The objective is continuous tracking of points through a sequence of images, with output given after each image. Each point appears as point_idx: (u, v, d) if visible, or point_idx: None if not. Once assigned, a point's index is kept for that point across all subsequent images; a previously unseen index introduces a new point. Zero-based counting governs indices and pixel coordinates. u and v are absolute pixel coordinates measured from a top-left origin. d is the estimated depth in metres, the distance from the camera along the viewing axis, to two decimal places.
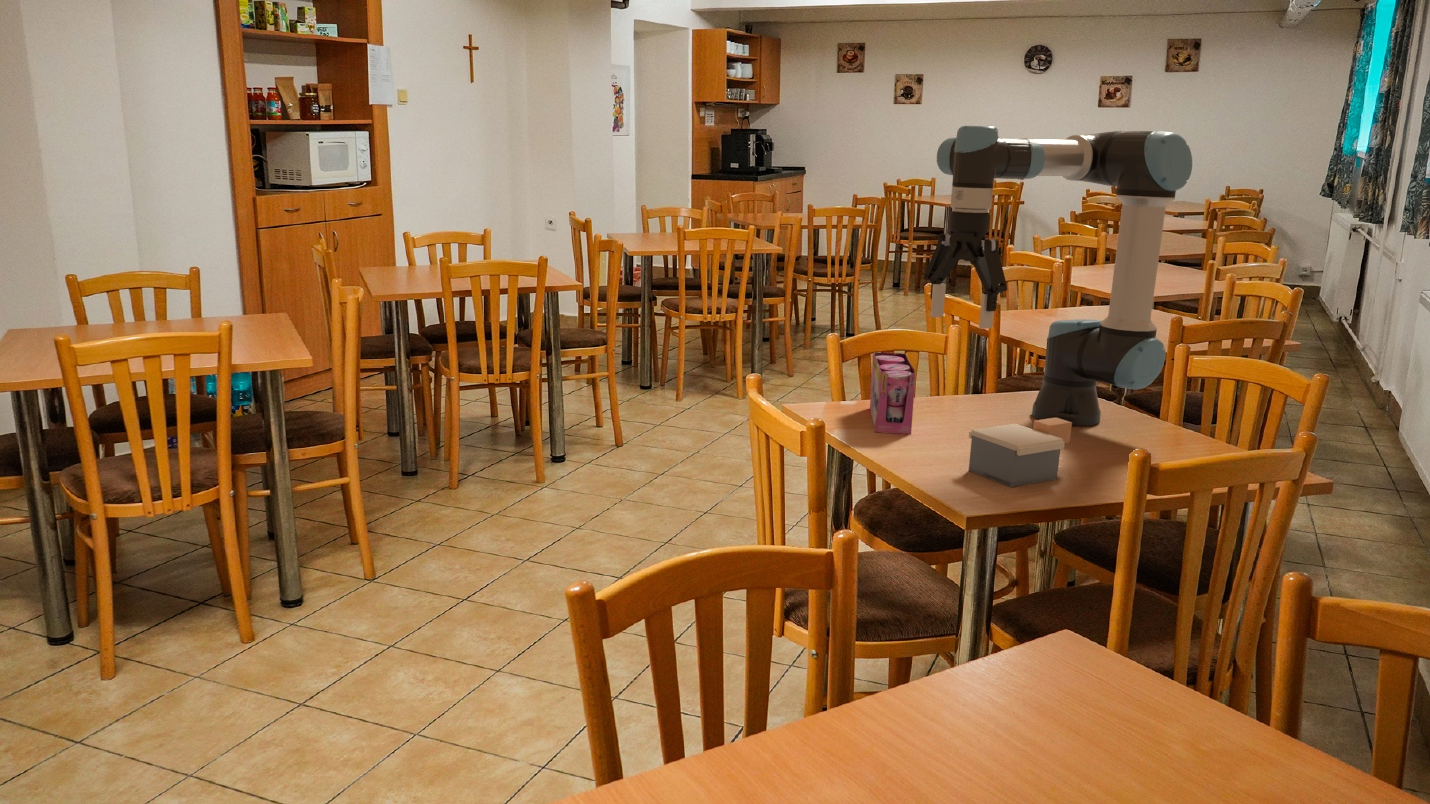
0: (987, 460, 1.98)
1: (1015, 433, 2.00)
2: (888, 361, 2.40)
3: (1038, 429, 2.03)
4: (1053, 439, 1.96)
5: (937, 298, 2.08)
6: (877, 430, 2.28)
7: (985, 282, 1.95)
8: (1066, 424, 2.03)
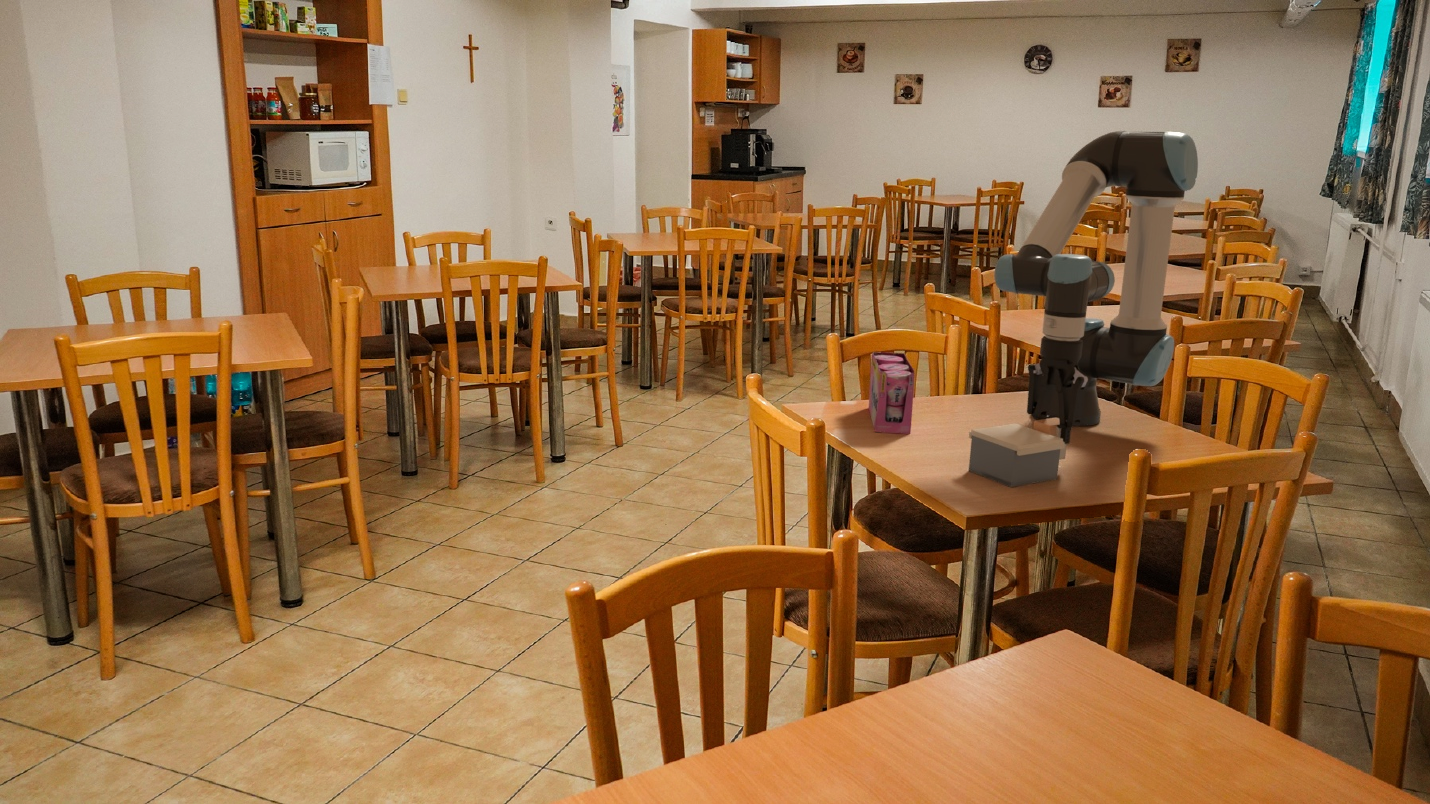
0: (987, 460, 1.98)
1: (1015, 433, 2.00)
2: (887, 361, 2.40)
3: (1038, 429, 2.03)
4: (1053, 439, 1.96)
5: None
6: (876, 430, 2.28)
7: (1062, 416, 2.00)
8: None
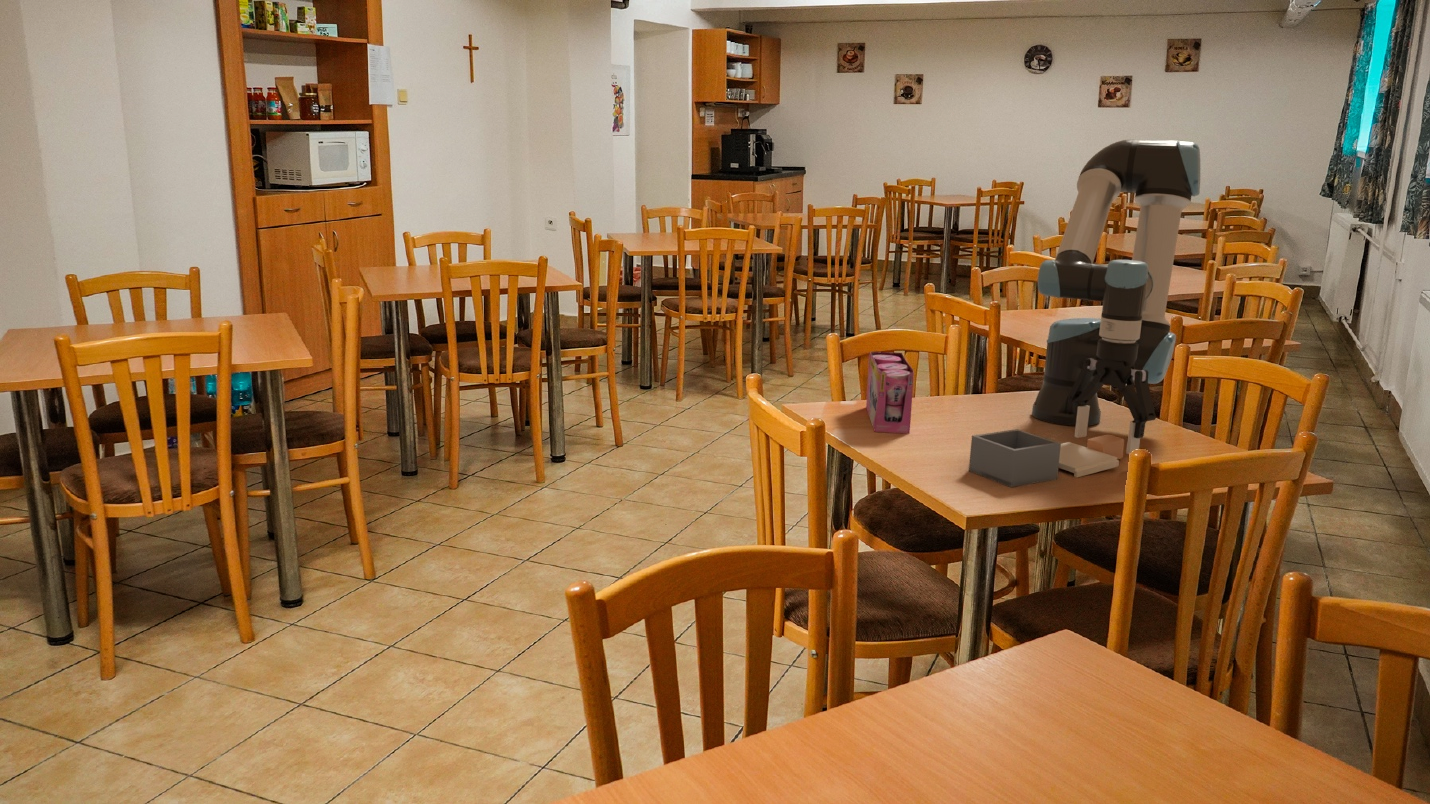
0: (987, 460, 1.98)
1: (1070, 453, 2.09)
2: (885, 360, 2.40)
3: (1092, 447, 2.12)
4: (1108, 458, 2.06)
5: (1081, 419, 2.17)
6: (876, 429, 2.28)
7: (1133, 411, 2.05)
8: (1119, 441, 2.12)
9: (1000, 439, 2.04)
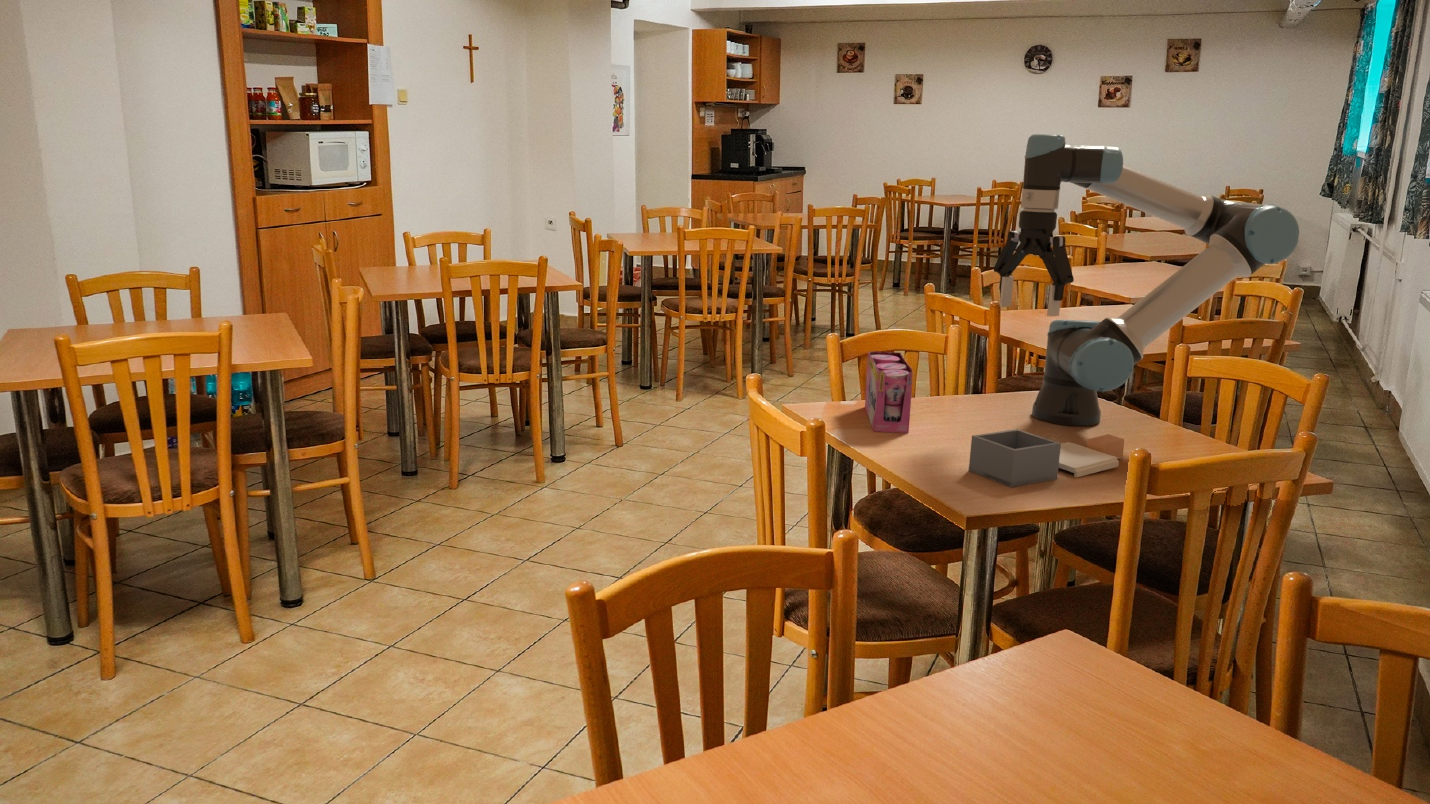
0: (987, 460, 1.98)
1: (1070, 453, 2.09)
2: (884, 360, 2.40)
3: (1092, 447, 2.12)
4: (1108, 458, 2.06)
5: (1006, 289, 2.30)
6: (875, 429, 2.28)
7: (1053, 275, 2.18)
8: (1119, 441, 2.12)
9: (1000, 439, 2.04)
